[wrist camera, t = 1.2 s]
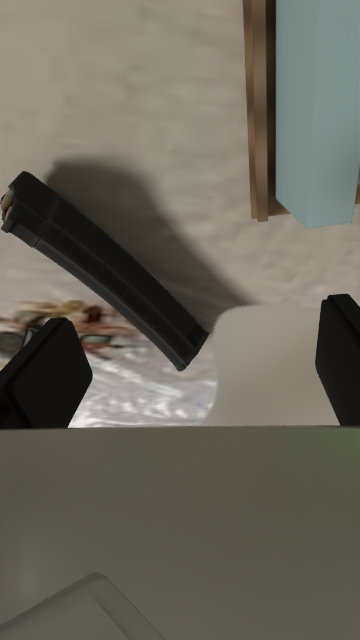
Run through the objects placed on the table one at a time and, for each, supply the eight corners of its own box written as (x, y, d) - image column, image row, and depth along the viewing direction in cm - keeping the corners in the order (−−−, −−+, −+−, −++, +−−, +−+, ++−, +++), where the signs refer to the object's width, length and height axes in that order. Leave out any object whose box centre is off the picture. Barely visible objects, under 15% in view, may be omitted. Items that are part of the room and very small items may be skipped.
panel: (274, -3, 25) (327, -137, 13) (311, -13, 24) (402, -162, 12) (274, 197, 33) (306, 228, 21) (302, 192, 32) (352, 222, 20)
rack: (242, -22, 25) (244, -41, 22) (455, -83, 22) (486, -113, 20) (251, 216, 35) (253, 222, 32) (399, 195, 32) (414, 200, 30)
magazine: (221, 379, 37) (-39, 232, 21) (202, 390, 39) (-55, 261, 23) (200, 295, 50) (27, 163, 34) (187, 307, 51) (14, 185, 35)
